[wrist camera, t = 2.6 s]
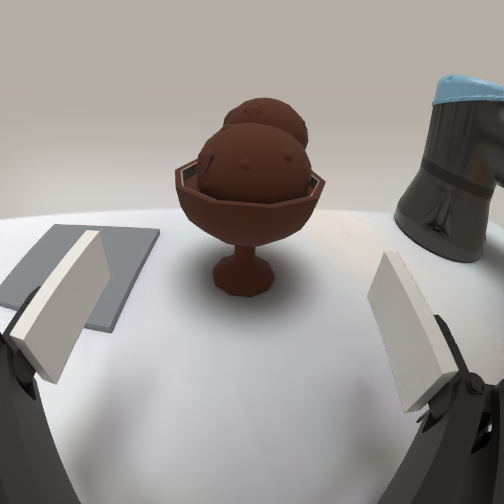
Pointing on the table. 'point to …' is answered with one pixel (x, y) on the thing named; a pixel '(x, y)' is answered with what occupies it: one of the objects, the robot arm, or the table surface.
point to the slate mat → (58, 245)
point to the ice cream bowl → (251, 189)
